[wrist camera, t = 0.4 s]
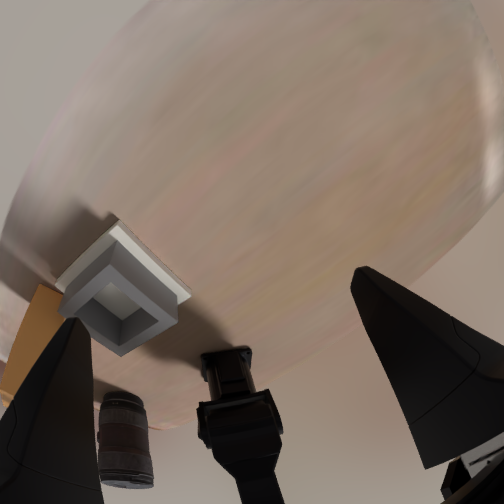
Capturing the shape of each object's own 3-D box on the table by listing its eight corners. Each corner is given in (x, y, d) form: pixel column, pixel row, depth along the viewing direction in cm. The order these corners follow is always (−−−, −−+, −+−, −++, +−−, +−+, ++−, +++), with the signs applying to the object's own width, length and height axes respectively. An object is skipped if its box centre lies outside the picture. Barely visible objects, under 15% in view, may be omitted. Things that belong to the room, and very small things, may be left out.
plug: (71, 298, 24) (39, 430, 12) (64, 321, 26) (40, 441, 13) (39, 283, 22) (-6, 409, 10) (35, 307, 24) (0, 424, 11)
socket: (190, 289, 27) (194, 322, 24) (125, 332, 28) (122, 364, 25) (119, 219, 21) (108, 247, 18) (57, 278, 23) (43, 309, 19)
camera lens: (131, 414, 39) (136, 491, 27) (92, 399, 35) (90, 481, 23) (157, 401, 38) (166, 487, 26) (114, 383, 33) (114, 478, 21)
